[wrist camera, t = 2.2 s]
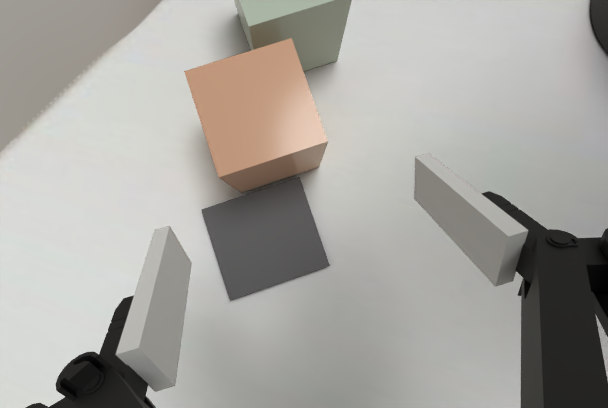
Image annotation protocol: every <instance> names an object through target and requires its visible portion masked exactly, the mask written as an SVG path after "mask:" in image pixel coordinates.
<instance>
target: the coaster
mask: <svg viewBox="0 0 608 408" xmlns="http://www.w3.org/2000/svg"><path fill="white" fill-rule="evenodd" d="M202 214H203V217H204V220H205V223H206V226H207V229H208V233H209V236H210V239H211V242H212V245H213V248H214V251H215V255H216V258H217V261H218V264H219V267H220V270H221V274H222V277H223V280H224V283H225V286H226V289H227V293H228V296H229V299H230V301H231V300H233V299H236V298H239V297H242V296H245V295H248V294H251V293H253V292H256V291H259V290H262V289H265V288H268V287H271V286H273V285H276V284H279V283H282V282H285V281H288V280H291V279H293V278H296V277H299V276H302V275H305V274H308V273H311V272H313V271H316V270H319V269H322V268H325V267H328V266H330V265H329V262H328V259H327V256H326V253H325V250H324V248H323V245H322V242H321V239H320V236H319V233H318V230H317V227H316V224H315V221H314V218H313V216H312V213H311V210H310V207H309V204H308V201H307V198H306V195H305V192H304V189H303V186H302V184H301V181H300V178H299V177H298V178H295V179H292V180H289V181H286V182H283V183H280V184H277V185H274V186H271V187H268V188H265V189H262V190H259V191H256V192H253V193H250V194H247V195H244V196H241V197H238V198H235V199H232V200H229V201H226V202H223V203H220V204H217V205H214V206H211V207H208V208H205V209H202Z"/></svg>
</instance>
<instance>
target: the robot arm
mask: <svg viewBox="0 0 608 408" xmlns="http://www.w3.org/2000/svg"><path fill="white" fill-rule="evenodd" d="M591 18H592V23H593V27H594V30H595V33H596V35H597V37H598V39H599V41H600V43H601V44H602V46H603V47H604V49H605V50H606V51H607V52H608V0H592V2H591ZM414 199H415V200H416V201H417V202H418V203H419V204H420V205H421V207H422V208H423V209H424V210H425V211H426V212H427V213H428V214H429V215H430V216H431V217H432V218H433V220H434V221H435V222H436V223H437V224H438V225H439V226H440V227H441V228H442V229H443V230H444V231H445V233H446V234H447V235H448V236H449V237H450V238H451V239H452V240H453V241H454V242H455V243H456V244H457V246H458V247H459V248H460V249H461V250H462V251H463V252H464V253H465V254H466V255H467V256H468V257H469V259H470V260H471V261H472V262H473V263H474V264H475V265H476V266H477V267H478V268H479V269H480V270H481V272H482V273H483V274H484V275H485V276H486V277H487V278H488V279H489V280H490V281H491V282H492V283H493V285H494V286H498V285H502V284H505V283H508V282H511V281H513V279H514V276H515V273H516V271H517V272H518V273H519V274H520V275H521V276H522V277H523V281H522V284H521V287H520V290H519V292H518V296H521V295H522V299H521V408H608V381H607V376H606V371H605V365H604V360H603V354H602V349H601V343H600V338H599V332H598V327H597V321H596V316H595V314H596V315H597V317H598V319H599V321H600V323H601V325H602V327H603V329H604V331H605V333H606V335H607V336H608V228H607V229H605V231H604V233H603V235H602V237H601V238H577V237H575V236H574V235H572V234H570V233H568V232H565V231H561V230H551V229H549V230H547V229H546V228H544V227H543V226H542V225H540V224H539V223H538V222H536V221H535V220H534V219H532V218H531V217H529V216H528V215H527V214H525V213H524V212H523V211H521V210H518V208H517V207H516V206H514V205H513V204H512V205H511V203H510V202H509V201H507V200H506V199H505V198H503V197H502V196H500V195H497V194H495V193H492V192H485V193H482V194H481V193H480V192H478V191H477V190H476V189H475V188H473V187H472V186H471V185H469V184H468V183H467V182H466V181H464V180H463V179H462V178H460V177H459V176H458V175H457V174H455V173H454V172H453V171H451V170H450V169H449V168H448V167H446V166H445V165H444V164H442V163H441V162H440V161H439V160H437V159H436V158H435V157H433V156H432V155H431V154H430V153H427V154H423V155H420V156H416V157H415V191H414ZM191 264H192V263H191V261H190V259H189V258H188V256H187V254H186V253H185V251H184V249H183V247H182V246H181V244H180V242H179V241H178V239H177V237H176V236H175V234H174V232H173V231H172V229H171V227H170V226H167V227H163V228H159V229H156V230H154V233H153V237H152V240H151V243H150V246H149V249H148V252H147V256H146V259H145V262H144V265H143V268H142V272H141V275H140V278H139V281H138V284H137V288H136V291H135V294H134V296H131V297H127V298H124V299H123V300H122V301H121V303H120V304H119V306H118V307H117V308H116V310H115V312H114V315H113V318H112V320H111V322H112V323H110V326H109V329H108V333H107V334H106V337H105V340H104V343H103V346H102V348H101V351H100V354H97V353H95V352H86V353H84V354H81V355H79V356H78V357H76V358H75V359H73V360H72V361H71V362H70V363H69V364H68V365H67V366H66V367H65V368H64V369H63V370H62V372H61V373H60V375H59V376H58V379H57V382H56V390H57V391H58V392H59V393H61V394H62V395H64V396H65V398H63V399H62V400H60V401H58V402H57V403H55V404H53V405H52V406H50V407H47V406H45V405H43V404H41V403H36V404H32V405H30V406H28V407H26V408H156V407H155V406H154V405H153V403H152V402H151V401H150V400H149V399H148V398H147V397H146V392H147V387H148V385H149V386H150V387H151V388H152V389H153V390H154V391H155V392H156V391H159V390H163V389H166V388H169V387H172V386H175V383H176V375H177V368H178V361H179V353H180V346H181V338H182V331H183V324H184V316H185V309H186V301H187V294H188V286H189V279H190V272H191Z"/></svg>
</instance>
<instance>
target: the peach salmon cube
mask: <svg viewBox="0 0 608 408" xmlns="http://www.w3.org/2000/svg"><path fill="white" fill-rule="evenodd" d="M184 72H185V75H186V78H187V81H188V84H189V87H190V90H191V93H192V96H193V100H194V103H195V106H196V109H197V112H198V115H199V118H200V121H201V124H202V127H203V130H204V134H205V137H206V140H207V143H208V146H209V149H210V152H211V155H212V158H213V161H214V164H215V168H216V171H217V174H218V177H219V178H220V179H222V180H223V181H225V182H226V183H228V184H229V185H231V186H232V187H234V188H235V189H237V190H238V191H240V192H241V193H243V192H246V191H249V190H252V189H255V188H258V187H261V186H264V185H267V184H270V183H273V182H276V181H279V180H282V179H285V178H288V177H291V176H294V175H297V174H300V173H303V172H306V171H309V170H312V169H315V168H318V167H319V166H320V163H321V160H322V157H323V154H324V152H325V149H326V146H327V143H328V139H327V137H326V134H325V131H324V128H323V125H322V122H321V120H320V117H319V114H318V111H317V108H316V106H315V103H314V100H313V97H312V94H311V91H310V89H309V86H308V83H307V80H306V77H305V74H304V72H303V69H302V66H301V63H300V60H299V57H298V55H297V52H296V49H295V46H294V43H293V41H292V38H290V39H287V40H284V41H280V42H277V43H274V44H271V45H267V46H264V47H261V48H258V49H255V50H251V51H248V52H245V53H242V54H238V55H235V56H232V57H229V58H226V59H222V60H219V61H216V62H213V63H209V64H206V65H203V66H200V67H197V68H193V69H190V70H187V71H184Z"/></svg>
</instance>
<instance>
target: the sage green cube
mask: <svg viewBox="0 0 608 408" xmlns="http://www.w3.org/2000/svg"><path fill="white" fill-rule="evenodd" d="M234 1H235V4H236V8H237V12H238V15H239V18H240V21H241V24H242V27H243V30H244V32H245V35H246V38H247V41H248V44H249V47H250V50H255V49H258V48H261V47H264V46H267V45H271V44H274V43H277V42H280V41H284V40H287V39H290V38H292V41H293V43H294V46H295V49H296V52H297V55H298V57H299V60H300V63H301V66H302V69H303V71H307V70H310V69H313V68H316V67H319V66H322V65H326V64H329V63H332V62H335V61H337V59H338V55H339V51H340V47H341V42H342V38H343V34H344V30H345V26H346V21H347V17H348V13H349V9H350V5H351V0H234Z"/></svg>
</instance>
